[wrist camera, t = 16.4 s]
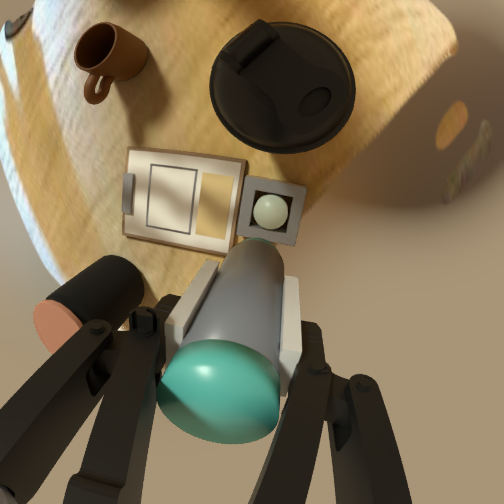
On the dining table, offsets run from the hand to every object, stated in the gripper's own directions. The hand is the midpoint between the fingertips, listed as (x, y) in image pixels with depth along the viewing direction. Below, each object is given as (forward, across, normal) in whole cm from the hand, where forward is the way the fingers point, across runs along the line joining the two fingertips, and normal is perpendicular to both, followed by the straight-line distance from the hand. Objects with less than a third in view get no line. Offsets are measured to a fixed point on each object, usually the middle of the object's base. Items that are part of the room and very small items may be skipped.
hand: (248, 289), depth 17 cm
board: (+25, -13, -1) cm, 28 cm away
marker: (+5, 0, 0) cm, 5 cm away
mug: (+25, -25, +18) cm, 40 cm away
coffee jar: (+25, -23, -17) cm, 38 cm away
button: (+25, 0, 0) cm, 25 cm away
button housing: (+25, 0, 0) cm, 25 cm away
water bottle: (+25, 0, +13) cm, 28 cm away
